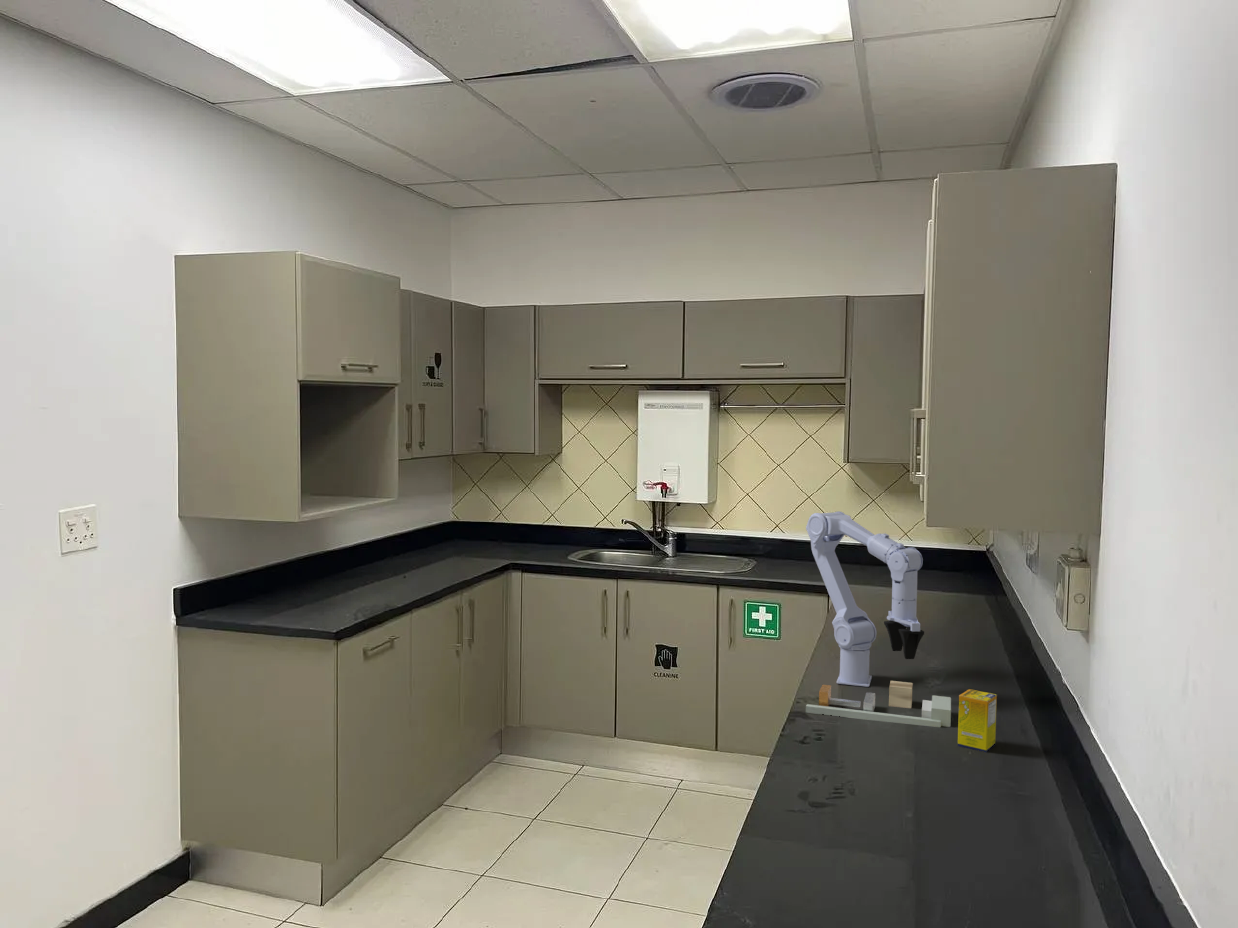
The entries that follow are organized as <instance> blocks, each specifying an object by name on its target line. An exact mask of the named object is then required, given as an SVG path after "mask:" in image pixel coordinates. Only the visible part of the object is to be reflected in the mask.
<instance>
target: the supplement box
mask: <svg viewBox="0 0 1238 928" xmlns="http://www.w3.org/2000/svg"><path fill="white" fill-rule="evenodd" d="M997 697H998V694H996V693H991V692H986V691H980V690H975V689H970V688H969V689H966V691H964V692H962V693H961V694H959V695H958V719H957V720H958V722H957V723H958V724H957V747H961V748H964V749H965V748H966V749H969V750H973V751H974V750H975V751H978V750H979V752H982V751H984V752H983V753H988V752H989V751H990V750H991V749H992V748H993V747H994V746H995V745H996V736H997V735H996V734H997V732H996V731H997V730H996V729H997V705H998V704H997V699H998V698H997ZM994 744H995V745H994ZM993 745H994V746H993ZM992 746H993V747H992ZM991 747H992V748H991ZM990 748H991V749H990ZM989 749H990V750H989ZM988 750H989V751H988ZM987 751H988V752H987Z"/></svg>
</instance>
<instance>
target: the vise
mask: <svg viewBox="0 0 1238 928" xmlns="http://www.w3.org/2000/svg"><path fill="white" fill-rule="evenodd" d="M805 713H808V714H815V715H822V714H824V716H830V715H832V716H833V717H839V716H840V718H849V719H856V720H857V719H858V720H864V721H866V720H868V721H873V722H874V721H876V722H884V723H895V724H906V725H913V726H923V727H924V726H925V727H935V728H941V727H947V728H948V727H951V718H952V698H951V697H950V696H944V695H941V696H940V695H931V700H926V699H922V707H921V716H911V715H902V714H896V713H895V714H894V713H886V712H876V711H874V712H870V711H863V710H860V709H851V708H844V707H843V708H842V707H835V706H829V707H827V706H819V704H809V703H807V704H806V705H805Z"/></svg>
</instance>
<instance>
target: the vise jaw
mask: <svg viewBox="0 0 1238 928" xmlns="http://www.w3.org/2000/svg"><path fill="white" fill-rule="evenodd" d="M861 703H862V701H861V700H854V699H853V700H852V699H844V698H837V697H836V698H833V697H832V685H831V684H830V685H829V684H822V685H821V687H820V688H819V692H818V706H827V707H830V705H834V706H843V707H853V708H861V705H862V704H861ZM862 708H863V710H862V711H870V712H875V708H876V693H875V692H867V691H866V693H865V696H864V700H863V707H862Z"/></svg>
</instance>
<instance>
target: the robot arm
mask: <svg viewBox="0 0 1238 928" xmlns="http://www.w3.org/2000/svg"><path fill="white" fill-rule="evenodd" d="M805 530H806V531H807V532H806V533H807V534H808V537H809V540H810V549H811V552H812V555H813V558H814V561H815V563H816V565H817V568H818V570H819V572H820V575H821V579H822V581H823V583H824V585H825V588H826V589H827V593H828V595H829V599H830V600H831V603H832V606H833V608H834V611H835V613H836V615H835V616H834V619H833V620H832V622H831V624H832V627H833V629H834V630H833V632H834V633H833V635H834V640H835V641H836V644H838V647H839V648H840V651H839V653H840V654H839V657H840V658H839V674H838V677H837V680H836V684H839V685H849V686H856V687H866V688H868V687H870V685H871V681H872V679H873V676H872V675H870V651H871V650H870V649H871V647H872V643H873V642H874V641H875V640H876V638H877V636H878V635H877V634H878V633H877V627H876V626H875V624H874V622H872V620H871V619H870V618H869V615H868V613H867V612H866V611H864V610H863V609H861V608H860V607H859V606H858V605H857V603H856V600H855V597H854V596H853V593H852V591H851V589H850V586H849V583H848V581H847V578H846V576H845V573H844V571H843V568H842V566H841V563H840V561H839V558H838V556H837V554H836V547H837V546H838V545H839V544H840V542H841V540H843V538H844V537H845V536H846V537H849V538H850V539H852V540H854V541H856V542H857V543H860V544H862V545H864V546H866V547H867V551H868V553H869V554H870V555H872V556H874V557H876V558H877V559H878V560H880V561H881V562H883V563H884V564H886V565H887V568H888V569H889V571H890V578H891V584H892V585H891V586H892V587H891V610H888V613H887V614H888V615H887V616H886V620H885V621H883V624H884V626H885V628H886V630H887V633H888V636H889V641H890V646H891V650H892V651H893V652H902V651H903V657H904V659H905V660H914V659H915V657H916V653H917V650H918V646H919V644H920V642H921V641H922V638H923V636H924V635H925V631H924V630H923V629H921V623H920V622H919V620H918V617H917V608H918V607H917V604H918V602H917V600H918V571H920V569H921V568H922V567H923V565H924V564H923V561H924V559H923V555H922V553H921V552H920V551H919V550H918V549H917V548H916V547H905V546H904V544H903V543H902V542H897V541H895V540H893V539H892V538H890V535H889V534H888V533H886V532H885V533H884V532H883V533H876V534H874V533H873V532H871V531H870V530H868V529H867V528H865V527H864V526H863V525H861V524H859V523H858V522H856V521H855V520H854V519H852V518H851V515H848V514H846V513H844V512H842V511H835V512H814V513H812V514H811V515H810V516H809V518H808V520H807V523H806V526H805Z"/></svg>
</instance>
